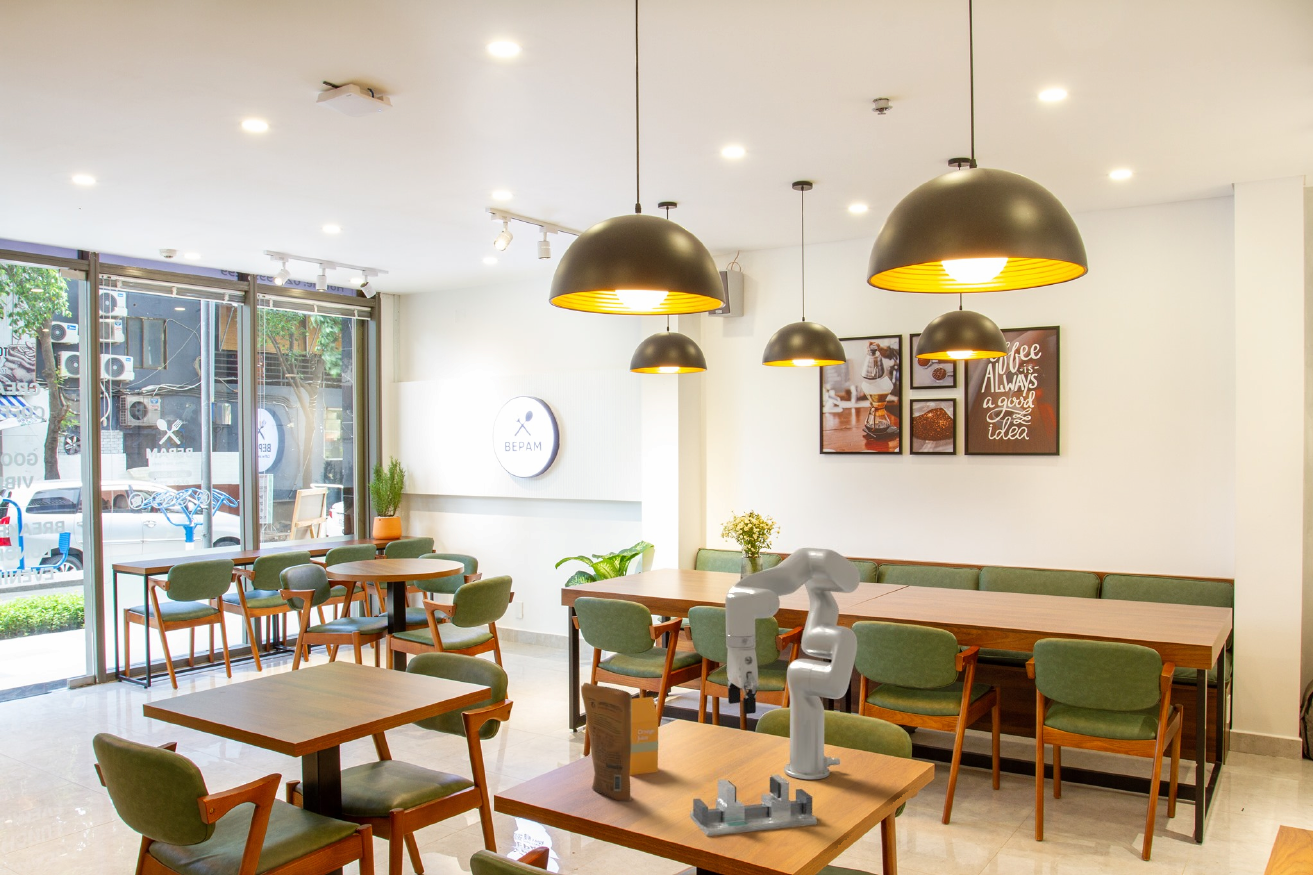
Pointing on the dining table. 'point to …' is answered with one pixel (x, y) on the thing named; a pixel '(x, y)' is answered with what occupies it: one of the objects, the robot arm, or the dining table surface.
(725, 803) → the notched grey block
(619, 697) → the pancake mix bag
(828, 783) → the dining table surface
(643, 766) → the orange juice
